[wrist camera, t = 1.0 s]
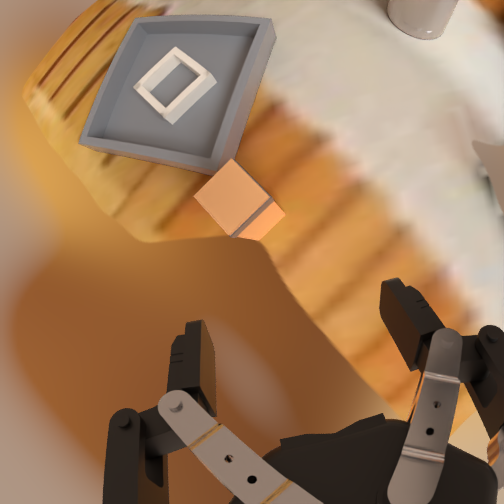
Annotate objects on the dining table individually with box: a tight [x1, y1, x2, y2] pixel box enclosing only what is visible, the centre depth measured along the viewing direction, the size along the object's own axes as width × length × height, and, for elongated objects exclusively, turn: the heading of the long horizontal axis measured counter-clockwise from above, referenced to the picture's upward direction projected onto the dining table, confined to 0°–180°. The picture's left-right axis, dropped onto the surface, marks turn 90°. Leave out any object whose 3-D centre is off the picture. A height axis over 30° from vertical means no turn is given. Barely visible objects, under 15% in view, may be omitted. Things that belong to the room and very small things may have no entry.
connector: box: [194, 158, 286, 241], centre depth 32 cm, size 5×5×13 cm
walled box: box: [78, 15, 276, 176], centre depth 38 cm, size 22×22×4 cm
